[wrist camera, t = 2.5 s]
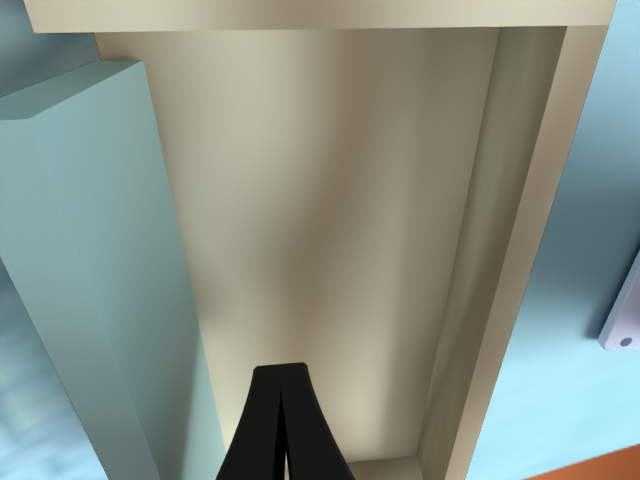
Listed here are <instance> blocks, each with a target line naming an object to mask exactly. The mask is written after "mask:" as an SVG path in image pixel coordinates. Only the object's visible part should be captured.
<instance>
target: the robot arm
mask: <svg viewBox="0 0 640 480" xmlns="http://www.w3.org/2000/svg"><path fill="white" fill-rule="evenodd" d="M598 343H599V344H600V345H601V346H602V347H603V349H605V350H610V351H612V350H624V349H635V348H640V250H639V252H638V254H637V257H636V259H635V261H634V263H633V265H632V267H631V269H630V271H629V274H628V276H627V278H626V280H625V282H624V284H623V286H622V289H621V291H620V293H619V295H618V297H617V299H616V301H615V304H614V306H613V308H612V310H611V312H610V314H609V316H608V318H607V321H606V323H605V325H604V327H603V329H602V331H601V333H600V336H599V338H598ZM286 457H287V465H288V473H289V480H356V479H355V477H354V476H353V474H352V472H351V470H350V468H349V467H348V465H347V463H346V461H345V459H344V457H343V455H342V453H341V451H340V449H339V447H338V445H337V443H336V441H335V439H334V437H333V435H332V433H331V430H330V428H329V426H328V424H327V422H326V420H325V417H324V415H323V413H322V410H321V408H320V405H319V402H318V400H317V397H316V395H315V392H314V389H313V386H312V382H311V379H310V375H309V371H308V365H307V364H305V363H304V362H298V363H286V364H274V365H262V366H257V367H256V368H254V369H253V375H252V380H251V384H250V389H249V392H248V396H247V399H246V402H245V405H244V409H243V412H242V415H241V418H240V420H239V423H238V426H237V428H236V431H235V434H234V436H233V439H232V442H231V444H230V447H229V449H228V452H227V454H226V456H225V458H224V461H223V463H222V465H221V468H220V470H219V472H218V474H217V477H216V479H215V480H285V462H286Z"/></svg>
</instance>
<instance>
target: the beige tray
mask: <svg viewBox="0 0 640 480" xmlns="http://www.w3.org/2000/svg"><path fill="white" fill-rule="evenodd" d="M23 1H24V4H25V7H26V10H27V13H28V16H29V19H30V22H31V25H32V28H33V31H34V33H76V32H94V35H95V39H96V43H97V47H98V51H99V55H100V58H101V61H116V60H143V61H144V66H145V71H146V75H147V80H148V85H149V90H150V94H151V99H152V104H153V109H154V113H155V118H156V123H157V128H158V132H159V137H160V142H161V147H162V152H163V156H164V161H165V166H166V171H167V175H168V180H169V185H170V190H171V194H172V199H173V204H174V209H175V213H176V218H177V223H178V228H179V232H180V237H181V242H182V247H183V252H184V256H185V261H186V266H187V271H188V275H189V280H190V285H191V290H192V294H193V299H194V304H195V309H196V313H197V318H198V323H199V328H200V332H201V337H202V342H203V347H204V351H205V356H206V361H207V366H208V371H209V375H210V380H211V385H212V390H213V394H214V399H215V404H216V409H217V413H218V418H219V423H220V428H221V432H222V437H223V442H224V447H225V451H226V454H227V452H228V449H229V447H230V444H231V442H232V439H233V436H234V434H235V431H236V428H237V426H238V423H239V420H240V418H241V415H242V412H243V409H244V405H245V402H246V399H247V396H248V392H249V389H250V384H251V380H252V375H253V369H254V368H256V367H257V366H262V365H274V364H286V363H298V362H304V363H305V364H307V365H308V371H309V375H310V379H311V382H312V386H313V389H314V392H315V395H316V397H317V400H318V402H319V405H320V408H321V410H322V413H323V415H324V417H325V420H326V422H327V424H328V426H329V428H330V430H331V433H332V435H333V437H334V439H335V441H336V443H337V445H338V447H339V449H340V451H341V453H342V455H343V457H344V459H345V461H346V463H347V465H348V467H349V468H350V470H351V472H352V474H353V476H354V477H355V479H356V480H465V478H466V475H467V472H468V469H469V466H470V462H471V459H472V456H473V453H474V450H475V447H476V443H477V440H478V437H479V434H480V431H481V428H482V425H483V421H484V418H485V415H486V412H487V409H488V406H489V402H490V399H491V396H492V393H493V390H494V387H495V383H496V380H497V377H498V374H499V371H500V368H501V365H502V361H503V358H504V355H505V352H506V349H507V346H508V342H509V339H510V336H511V333H512V330H513V327H514V324H515V320H516V317H517V314H518V311H519V308H520V305H521V301H522V298H523V295H524V292H525V289H526V286H527V283H528V279H529V276H530V273H531V270H532V267H533V264H534V260H535V257H536V254H537V251H538V248H539V245H540V242H541V238H542V235H543V232H544V229H545V226H546V223H547V219H548V216H549V213H550V210H551V207H552V204H553V201H554V197H555V194H556V191H557V188H558V185H559V182H560V178H561V175H562V172H563V169H564V166H565V163H566V160H567V156H568V153H569V150H570V147H571V144H572V141H573V137H574V134H575V131H576V128H577V125H578V122H579V119H580V115H581V112H582V109H583V106H584V103H585V100H586V96H587V93H588V90H589V87H590V84H591V81H592V77H593V74H594V71H595V68H596V65H597V62H598V59H599V55H600V52H601V49H602V46H603V43H604V40H605V36H606V33H607V30H608V27H609V24H610V21H611V18H612V14H613V11H614V8H615V5H616V2H617V0H23ZM285 480H289V473H288V465H287V457H286V462H285Z"/></svg>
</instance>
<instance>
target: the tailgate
mask: <svg viewBox="0 0 640 480" xmlns="http://www.w3.org/2000/svg"><path fill="white" fill-rule="evenodd" d="M0 257H1V259H2V261H3V264H4V266H5V268H6V270H7V272H8V274H9V276H10V278H11V280H12V282H13V284H14V286H15V288H16V290H17V292H18V294H19V296H20V298H21V300H22V303H23V305H24V307H25V309H26V311H27V313H28V315H29V317H30V319H31V321H32V323H33V325H34V327H35V329H36V331H37V333H38V335H39V337H40V340H41V342H42V344H43V346H44V348H45V350H46V352H47V354H48V356H49V358H50V360H51V362H52V364H53V366H54V368H55V370H56V372H57V374H58V376H59V379H60V381H61V383H62V385H63V387H64V389H65V391H66V393H67V395H68V397H69V399H70V401H71V403H72V405H73V407H74V409H75V411H76V413H77V416H78V418H79V420H80V422H81V424H82V426H83V428H84V430H85V432H86V434H87V436H88V438H89V440H90V442H91V444H92V446H93V448H94V450H95V452H96V455H97V457H98V459H99V461H100V463H101V465H102V467H103V469H104V471H105V473H106V475H107V477H108V479H109V480H215V479H216V477H217V474H218V472H219V470H220V468H221V465H222V463H223V461H224V458H225V456H226V451H225V447H224V442H223V437H222V432H221V428H220V423H219V418H218V413H217V409H216V404H215V399H214V394H213V390H212V385H211V380H210V375H209V371H208V366H207V361H206V356H205V351H204V347H203V342H202V337H201V332H200V328H199V323H198V318H197V313H196V309H195V304H194V299H193V294H192V290H191V285H190V280H189V275H188V271H187V266H186V261H185V256H184V252H183V247H182V242H181V237H180V232H179V228H178V223H177V218H176V213H175V209H174V204H173V199H172V194H171V190H170V185H169V180H168V175H167V171H166V166H165V161H164V156H163V152H162V147H161V142H160V137H159V132H158V128H157V123H156V118H155V113H154V109H153V104H152V99H151V94H150V90H149V85H148V80H147V75H146V71H145V66H144V61H143V60H116V61H94V62H92V63H89V64H86V65H84V66H81V67H78V68H76V69H73V70H71V71H68V72H65V73H63V74H60V75H57V76H55V77H52V78H50V79H47V80H44V81H42V82H39V83H36V84H34V85H31V86H29V87H26V88H23V89H21V90H18V91H15V92H13V93H10V94H8V95H5V96H2V97H0Z"/></svg>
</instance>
